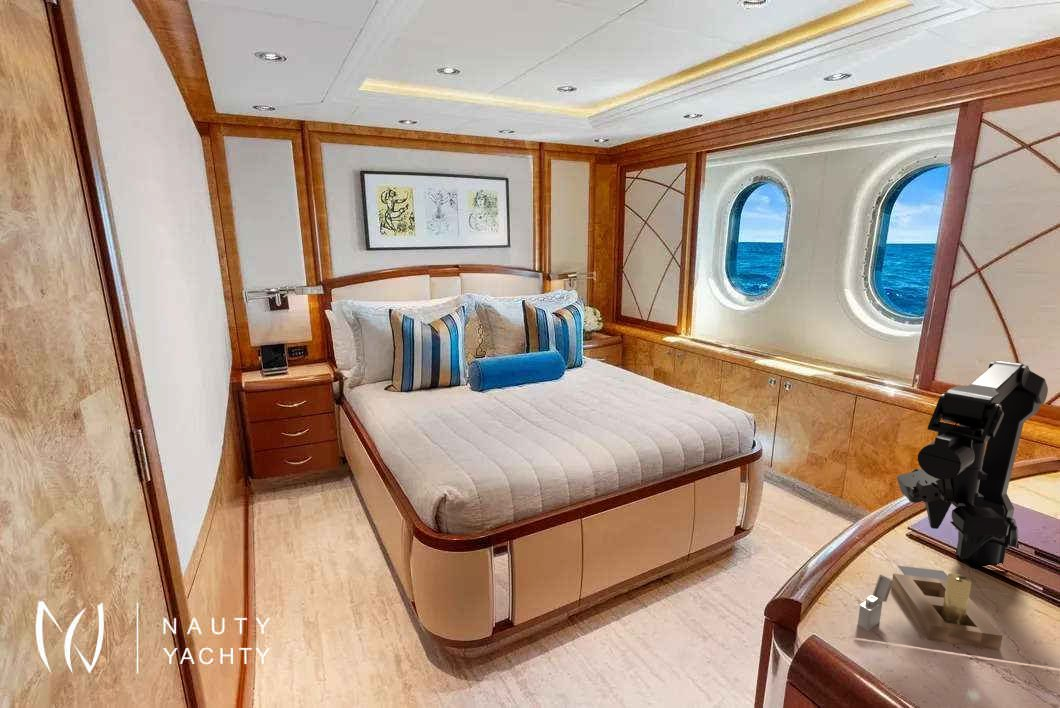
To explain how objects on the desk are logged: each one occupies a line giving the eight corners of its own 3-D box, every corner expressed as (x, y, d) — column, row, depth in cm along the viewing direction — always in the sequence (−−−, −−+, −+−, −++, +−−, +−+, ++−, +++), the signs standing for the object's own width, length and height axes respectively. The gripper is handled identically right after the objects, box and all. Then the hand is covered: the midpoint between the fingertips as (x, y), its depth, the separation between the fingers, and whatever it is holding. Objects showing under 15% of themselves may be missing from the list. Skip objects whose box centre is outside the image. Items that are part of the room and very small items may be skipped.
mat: (943, 572, 101) (943, 570, 101) (962, 594, 94) (963, 593, 94) (897, 566, 103) (897, 565, 103) (913, 588, 96) (914, 587, 96)
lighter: (867, 632, 86) (873, 591, 84) (856, 626, 87) (862, 585, 86) (888, 617, 89) (894, 577, 88) (877, 611, 91) (883, 571, 89)
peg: (956, 625, 87) (965, 574, 85) (966, 638, 84) (975, 586, 82) (935, 623, 88) (944, 572, 86) (945, 635, 85) (954, 583, 83)
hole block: (951, 595, 94) (954, 580, 94) (999, 651, 81) (1002, 635, 81) (891, 587, 97) (893, 573, 96) (927, 641, 84) (930, 625, 83)
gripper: (883, 439, 98) (875, 511, 101) (935, 483, 80) (922, 569, 83) (950, 442, 95) (939, 516, 98) (1019, 488, 77) (1002, 577, 81)
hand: (947, 542), depth 90 cm, fingers open, 9 cm apart
